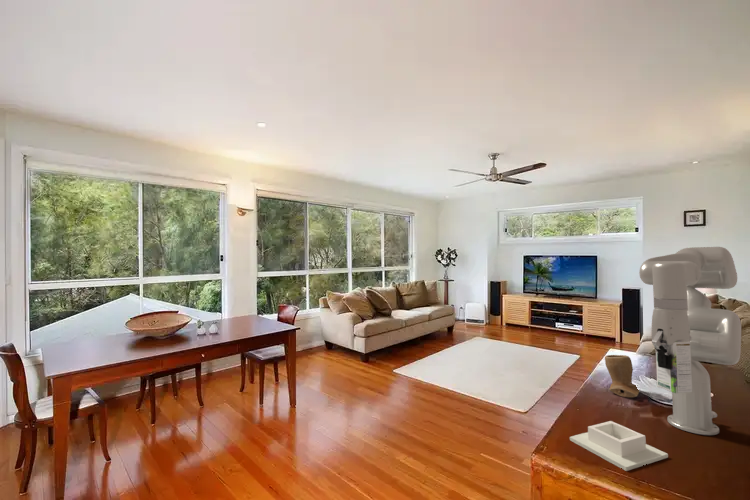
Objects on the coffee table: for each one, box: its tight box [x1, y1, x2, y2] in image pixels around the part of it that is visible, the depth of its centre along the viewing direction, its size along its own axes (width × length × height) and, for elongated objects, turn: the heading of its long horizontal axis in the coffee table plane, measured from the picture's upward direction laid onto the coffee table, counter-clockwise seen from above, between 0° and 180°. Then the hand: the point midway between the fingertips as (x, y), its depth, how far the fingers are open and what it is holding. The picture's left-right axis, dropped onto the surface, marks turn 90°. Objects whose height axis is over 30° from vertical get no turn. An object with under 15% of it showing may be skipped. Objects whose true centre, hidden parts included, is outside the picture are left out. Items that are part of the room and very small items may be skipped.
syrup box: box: [655, 341, 692, 393], centre depth 100 cm, size 6×6×14 cm
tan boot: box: [604, 354, 641, 398], centre depth 144 cm, size 15×12×15 cm
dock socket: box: [569, 420, 669, 472], centre depth 102 cm, size 17×17×5 cm
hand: (673, 365), depth 100 cm, fingers closed on syrup box, 6 cm apart
